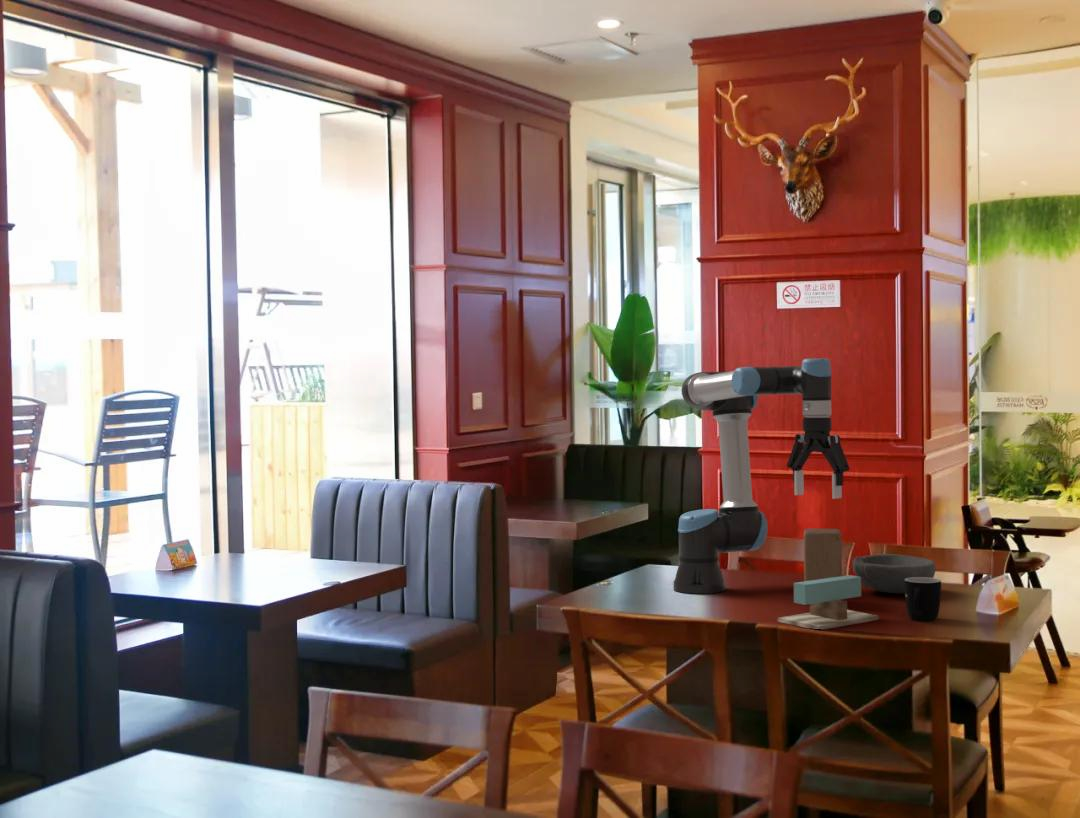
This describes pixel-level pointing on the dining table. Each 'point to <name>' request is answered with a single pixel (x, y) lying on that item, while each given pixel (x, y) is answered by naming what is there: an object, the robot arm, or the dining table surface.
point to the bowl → (891, 571)
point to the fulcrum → (828, 616)
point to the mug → (923, 598)
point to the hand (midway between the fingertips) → (817, 496)
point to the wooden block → (822, 554)
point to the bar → (827, 589)
